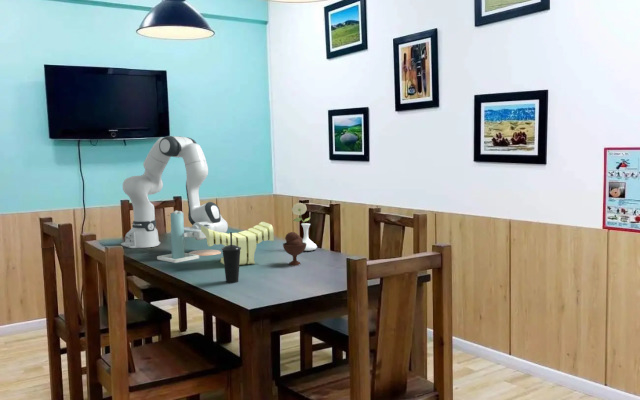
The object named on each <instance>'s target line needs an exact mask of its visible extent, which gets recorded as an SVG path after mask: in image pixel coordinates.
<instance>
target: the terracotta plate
mask: <svg viewBox="0 0 640 400" xmlns="http://www.w3.org/2000/svg"><path fill="white" fill-rule="evenodd" d="M188 253H189V254H195V255H199V257H202V256H204V257H206V256H214V255H215V256H216V255H221V254H222V250H218V249H197V250H191V251H190V252H188Z"/></svg>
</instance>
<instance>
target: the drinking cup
mask: <svg viewBox="0 0 640 400" xmlns="http://www.w3.org/2000/svg"><path fill="white" fill-rule="evenodd" d="M229 233H230V245H227V246H225V245H224V247H223V246H222V248H221V252H222V257H223V259H224V264H223V265H224V275H225V282H226V283H228V284H234V283H238V282H239V278H240V276H239V275H240V265H239V263H240V249H241V247H238V246H236V245H232V233H233V232H232V231H230V232H229Z"/></svg>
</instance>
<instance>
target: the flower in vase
mask: <svg viewBox="0 0 640 400" xmlns="http://www.w3.org/2000/svg"><path fill="white" fill-rule="evenodd" d="M307 210H308V209H307V205H306V203H303V202H302V203H301V202H297V203H295V204H294V205H293V206H292V208H291V211H292V214H293V215H296V216H300V217H296V218H294V219H293V222H297V223H299V222H300V221H302V223H301V224H300V225H301V226H302V228H303V237H302V239H303V243H306V248H305V250H304V251H303V252H308V251H310V252H311V251H314V250H316V249H317V248H318V246H317V244H316V243H314V241H312V240H311V239H310V238H309V228H310V226H311V223H307V222H308V221H309V220H310V219H311V216H309V217H308V218H305V219H304V220H303V218H302V215H304V214H305V213H306V212H307ZM305 222H306V223H305Z"/></svg>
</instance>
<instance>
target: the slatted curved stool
mask: <svg viewBox="0 0 640 400" xmlns="http://www.w3.org/2000/svg"><path fill="white" fill-rule="evenodd" d="M201 232H203V233H204V234H205V236H206V239H205V240H206V244H207V246H208V247H212V246H215V245H217V246H218V245H222V246H224V247H225V246H227V245H230V232H229V233H228V232H226V233H222V232H217V231H212V230H210V229H208V228H205V227H203V226H201ZM274 232H275V231H274V227H273V225H272V224H270V223H268V222H265V221H261V222H259V223H258V224H256V225H254V226H252V227H250V228H247V230H246V229H245V230H242V231H238V232H232V245H236V246H238V247H241V249H240V263H239V266H245V265H255V263H256V262H255V253H256V250H257V245H259V244H260V243H262V242H263V241H264V242H266V241H270V242H274V239H275V236H274V235H275V234H274ZM219 263H221V264H223V265H224V259H223V256H222V257H221V258H220V260H219Z"/></svg>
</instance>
